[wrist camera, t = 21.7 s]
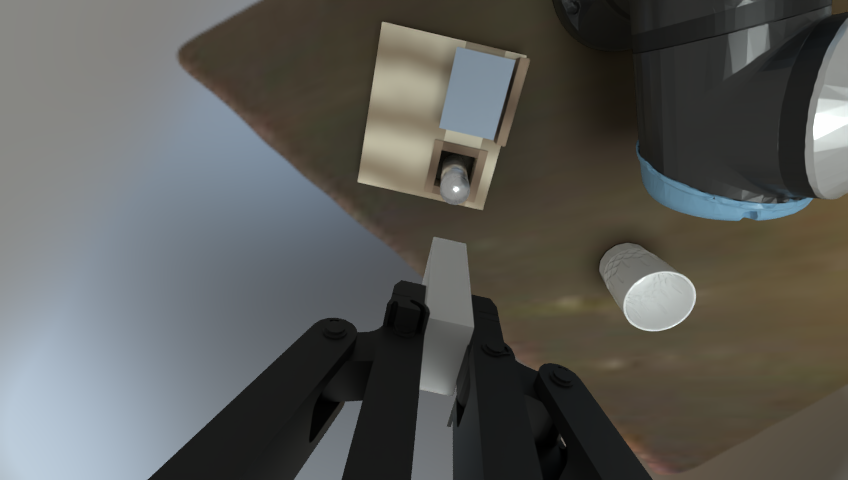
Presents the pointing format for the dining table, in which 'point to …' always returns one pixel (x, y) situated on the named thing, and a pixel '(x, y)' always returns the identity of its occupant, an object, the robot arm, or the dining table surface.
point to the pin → (454, 180)
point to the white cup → (646, 287)
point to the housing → (476, 93)
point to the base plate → (426, 115)
